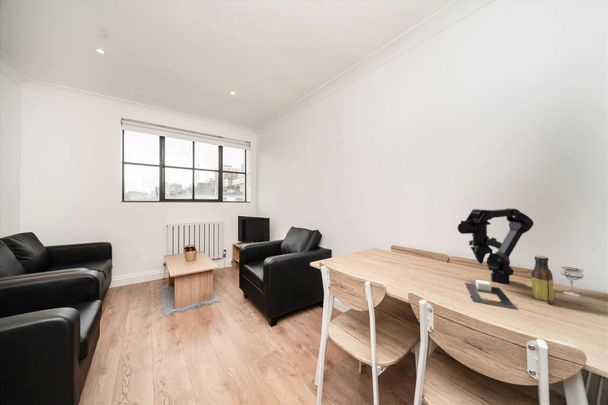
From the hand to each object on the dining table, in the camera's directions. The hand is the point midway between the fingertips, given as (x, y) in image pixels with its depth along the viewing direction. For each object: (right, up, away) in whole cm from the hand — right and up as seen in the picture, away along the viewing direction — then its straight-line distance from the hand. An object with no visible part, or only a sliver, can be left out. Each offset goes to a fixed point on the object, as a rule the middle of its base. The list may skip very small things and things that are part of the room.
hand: (479, 262), depth 110 cm
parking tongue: (0, -12, 0) cm, 12 cm away
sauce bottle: (+13, -12, -17) cm, 25 cm away
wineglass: (+34, -12, -12) cm, 38 cm away
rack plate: (-6, -12, -11) cm, 18 cm away
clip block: (-3, -11, -6) cm, 13 cm away
